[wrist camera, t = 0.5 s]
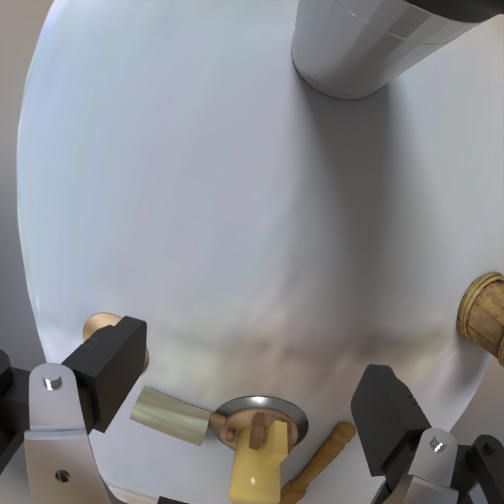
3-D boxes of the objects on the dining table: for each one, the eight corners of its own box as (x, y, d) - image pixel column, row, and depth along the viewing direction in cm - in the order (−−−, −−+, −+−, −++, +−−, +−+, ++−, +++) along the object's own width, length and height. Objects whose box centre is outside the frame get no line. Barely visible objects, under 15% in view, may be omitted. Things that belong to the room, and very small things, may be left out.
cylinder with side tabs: (267, 455, 34) (264, 513, 24) (229, 445, 33) (219, 504, 24) (302, 412, 31) (307, 480, 21) (258, 400, 30) (253, 470, 21)
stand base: (228, 383, 32) (228, 384, 32) (326, 410, 32) (326, 411, 32) (200, 438, 36) (200, 439, 35) (282, 459, 36) (282, 460, 36)
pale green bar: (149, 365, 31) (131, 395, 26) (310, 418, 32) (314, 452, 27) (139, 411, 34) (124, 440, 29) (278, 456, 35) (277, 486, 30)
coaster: (87, 300, 30) (85, 302, 30) (153, 332, 31) (152, 335, 30) (83, 354, 33) (81, 356, 32) (142, 384, 33) (140, 386, 33)
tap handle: (359, 436, 31) (281, 515, 39) (355, 421, 34) (281, 504, 42) (339, 435, 31) (266, 514, 39) (335, 419, 34) (267, 502, 42)
